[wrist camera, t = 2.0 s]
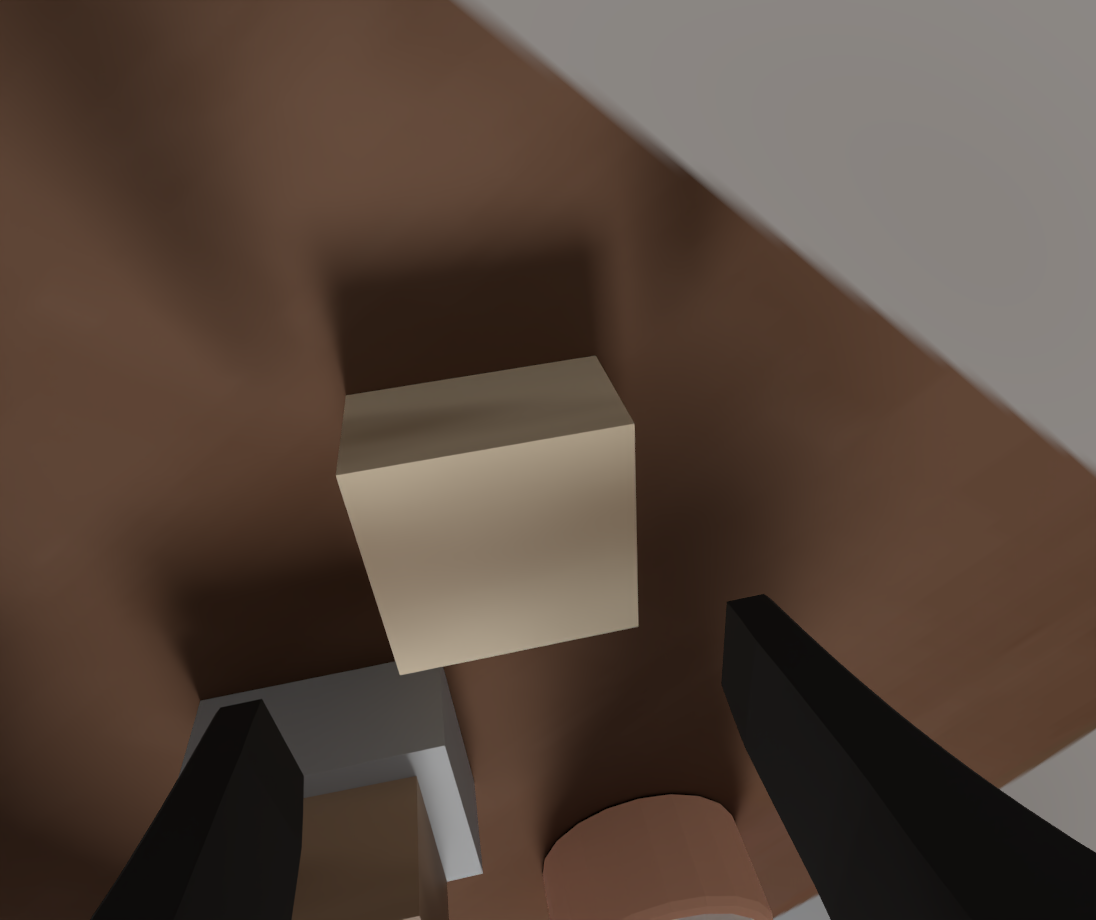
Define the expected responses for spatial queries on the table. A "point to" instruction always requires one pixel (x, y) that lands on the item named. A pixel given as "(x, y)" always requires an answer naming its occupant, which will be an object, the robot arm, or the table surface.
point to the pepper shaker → (654, 865)
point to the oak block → (494, 510)
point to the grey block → (376, 744)
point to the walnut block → (370, 856)
